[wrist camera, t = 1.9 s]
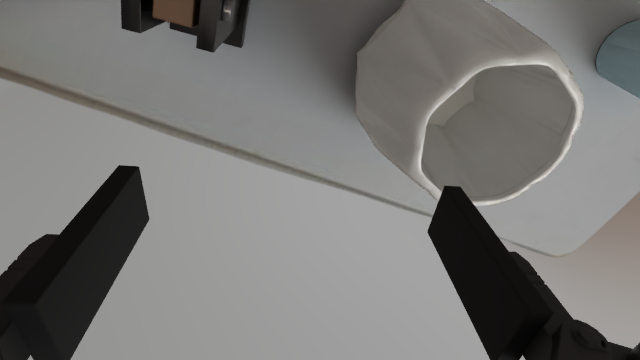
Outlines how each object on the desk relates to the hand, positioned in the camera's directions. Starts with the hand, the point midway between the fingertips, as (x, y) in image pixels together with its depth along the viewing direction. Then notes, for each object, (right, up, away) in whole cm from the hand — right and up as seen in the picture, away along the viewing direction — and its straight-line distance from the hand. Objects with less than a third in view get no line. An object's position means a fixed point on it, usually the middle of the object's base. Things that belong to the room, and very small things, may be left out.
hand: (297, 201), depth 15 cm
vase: (+11, +12, +18) cm, 24 cm away
